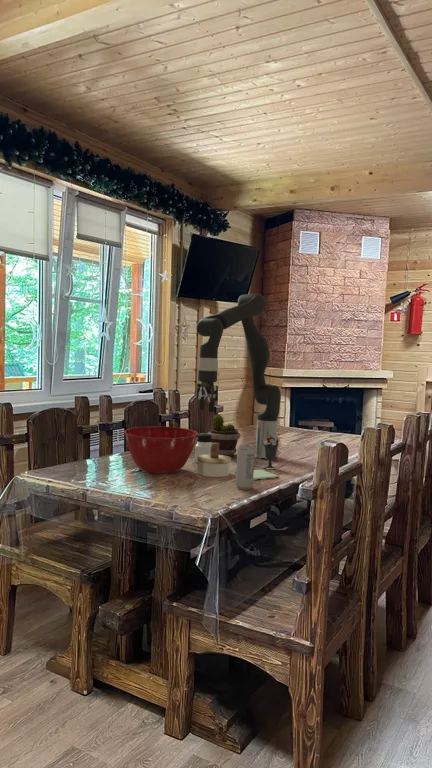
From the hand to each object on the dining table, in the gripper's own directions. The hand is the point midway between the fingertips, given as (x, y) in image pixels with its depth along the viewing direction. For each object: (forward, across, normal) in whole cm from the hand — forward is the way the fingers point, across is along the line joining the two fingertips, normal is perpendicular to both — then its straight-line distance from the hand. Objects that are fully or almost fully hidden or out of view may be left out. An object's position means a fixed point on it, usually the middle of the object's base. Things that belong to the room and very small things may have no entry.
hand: (206, 410), depth 216 cm
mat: (+24, -14, -16) cm, 32 cm away
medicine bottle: (+24, +17, -8) cm, 30 cm away
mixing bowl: (+24, +5, +16) cm, 30 cm away
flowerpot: (+24, +28, -24) cm, 44 cm away
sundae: (+24, -3, -29) cm, 38 cm away
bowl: (+24, -5, -2) cm, 24 cm away
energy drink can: (+24, -29, -2) cm, 38 cm away
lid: (+19, -5, -2) cm, 20 cm away
